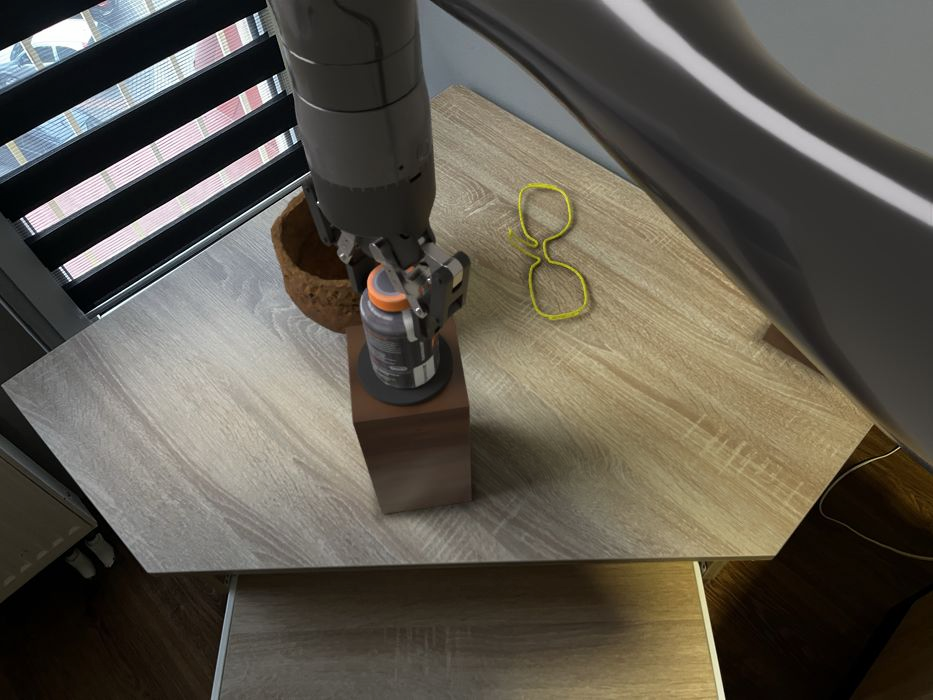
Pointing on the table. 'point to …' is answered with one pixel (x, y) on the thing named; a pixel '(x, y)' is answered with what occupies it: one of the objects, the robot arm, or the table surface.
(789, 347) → the brown wooden square box
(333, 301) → the bowl
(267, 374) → the table surface
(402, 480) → the stand
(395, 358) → the pill bottle
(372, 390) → the coaster
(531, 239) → the glasses
